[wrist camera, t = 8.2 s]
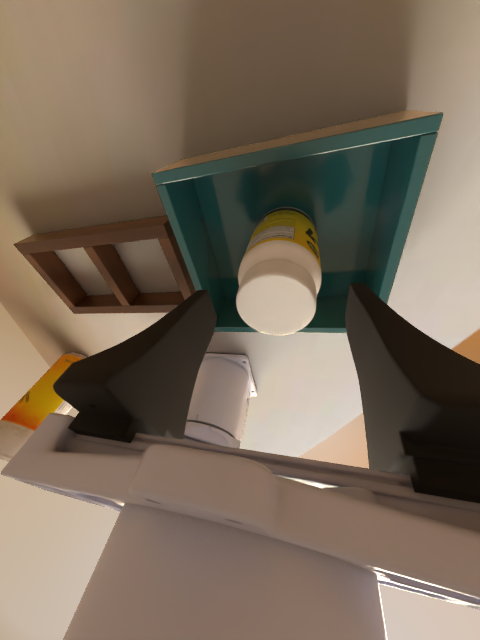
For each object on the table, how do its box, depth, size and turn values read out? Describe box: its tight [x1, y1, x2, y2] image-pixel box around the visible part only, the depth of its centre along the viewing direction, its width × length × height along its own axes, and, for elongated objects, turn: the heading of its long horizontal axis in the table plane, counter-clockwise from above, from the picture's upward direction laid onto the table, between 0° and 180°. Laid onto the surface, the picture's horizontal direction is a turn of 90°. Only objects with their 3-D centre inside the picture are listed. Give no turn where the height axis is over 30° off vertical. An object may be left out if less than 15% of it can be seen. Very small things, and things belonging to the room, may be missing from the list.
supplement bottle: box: [236, 207, 321, 335], centre depth 14 cm, size 5×5×8 cm
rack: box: [14, 215, 196, 314], centre depth 22 cm, size 8×16×2 cm, turn 101°
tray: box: [152, 110, 443, 333], centre depth 16 cm, size 12×13×4 cm
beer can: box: [0, 353, 87, 462], centre depth 34 cm, size 6×6×15 cm
